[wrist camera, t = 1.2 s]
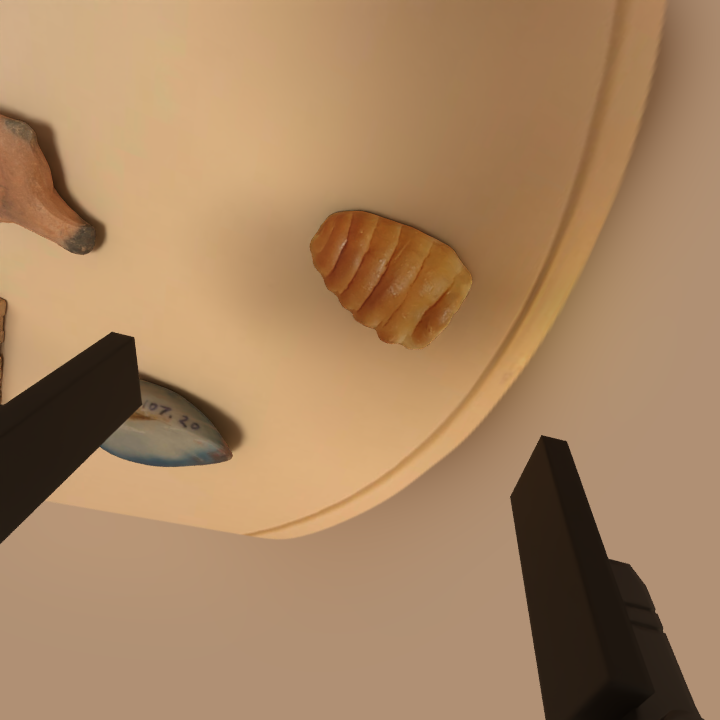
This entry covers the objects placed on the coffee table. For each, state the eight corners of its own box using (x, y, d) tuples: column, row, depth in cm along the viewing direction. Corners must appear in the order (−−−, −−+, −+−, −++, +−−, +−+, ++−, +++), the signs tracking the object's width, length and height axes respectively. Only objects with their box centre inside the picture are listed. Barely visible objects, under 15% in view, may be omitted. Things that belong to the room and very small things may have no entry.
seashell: (243, 481, 35) (148, 447, 27) (158, 478, 39) (50, 447, 30) (259, 407, 38) (177, 356, 30) (178, 410, 41) (84, 365, 33)
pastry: (298, 269, 28) (279, 291, 25) (350, 174, 25) (336, 184, 22) (419, 346, 29) (415, 376, 26) (484, 265, 26) (489, 288, 23)
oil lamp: (23, 244, 32) (121, 243, 31) (-23, 269, 29) (83, 269, 27) (-57, 104, 27) (57, 95, 25) (-125, 116, 23) (1, 106, 22)
